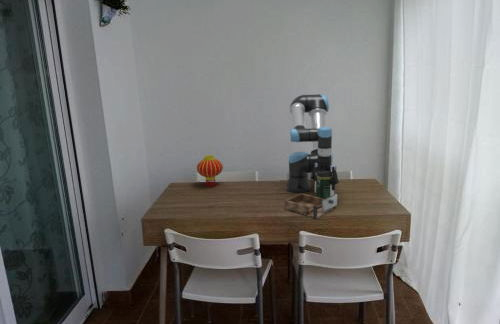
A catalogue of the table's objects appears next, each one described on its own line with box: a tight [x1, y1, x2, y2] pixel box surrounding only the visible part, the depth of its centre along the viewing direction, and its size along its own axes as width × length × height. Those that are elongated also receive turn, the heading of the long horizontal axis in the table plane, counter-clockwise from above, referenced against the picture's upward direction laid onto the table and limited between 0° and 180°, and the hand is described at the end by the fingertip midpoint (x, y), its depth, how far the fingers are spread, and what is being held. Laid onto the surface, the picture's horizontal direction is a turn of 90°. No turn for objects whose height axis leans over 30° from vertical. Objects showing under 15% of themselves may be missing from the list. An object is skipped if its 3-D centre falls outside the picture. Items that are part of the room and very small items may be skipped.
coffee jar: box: [315, 170, 333, 199], centre depth 204 cm, size 10×8×19 cm
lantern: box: [196, 146, 224, 187], centre depth 239 cm, size 17×17×30 cm
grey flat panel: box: [322, 193, 338, 212], centre depth 190 cm, size 2×13×6 cm, turn 136°
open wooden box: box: [284, 192, 334, 220], centre depth 193 cm, size 20×15×6 cm
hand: (324, 193), depth 205 cm, fingers closed on coffee jar, 9 cm apart
